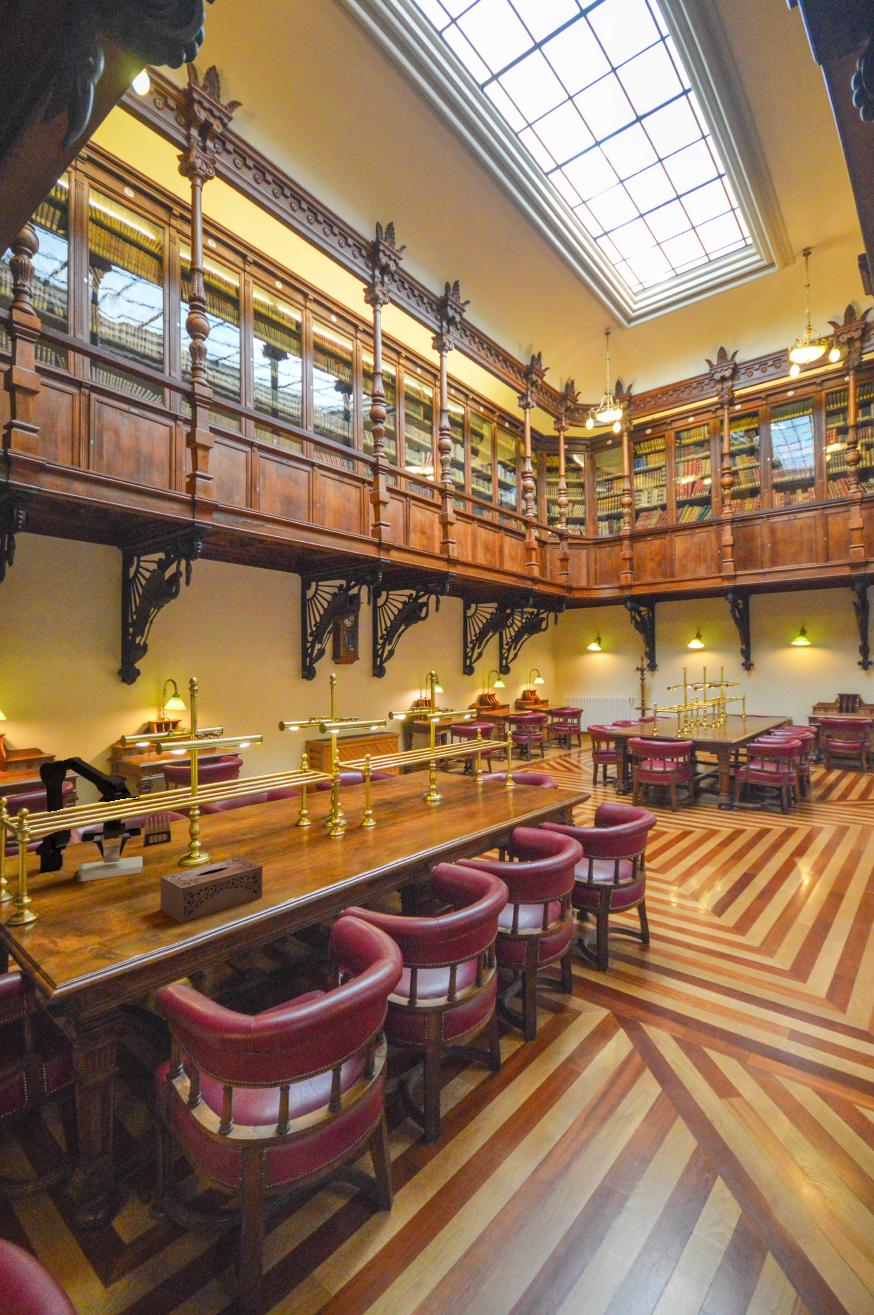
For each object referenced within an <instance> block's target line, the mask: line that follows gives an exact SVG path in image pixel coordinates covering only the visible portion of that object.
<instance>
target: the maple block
mask: <svg viewBox="0 0 874 1315" xmlns="http://www.w3.org/2000/svg"><path fill="white" fill-rule="evenodd" d="M120 846H121V843H117V844H109V845H103V847H104V858H103V860H102V861H103V863H111V862H118V861H119V860H120V859H121V858H120V857H121V856H120Z"/></svg>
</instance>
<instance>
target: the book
mask: <svg viewBox="0 0 874 1315" xmlns="http://www.w3.org/2000/svg"><path fill="white" fill-rule="evenodd" d="M103 861H104V860H102V861H94V862H88V863H80V865H79V868H78V872H77V874H76V876H77V880H76V881H77V883H81V882H82V883H83V882H87V881H95V880H101V879H109V878H115V877H123V876H130V875H135V874H143V873H144V869H143V868H144V866H143V865H144V863H143V861H144V860H143V855H141V856H139V855H138V856H132V857H125V858H120V860H119V861H118V862H111V863H103Z"/></svg>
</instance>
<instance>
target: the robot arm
mask: <svg viewBox="0 0 874 1315" xmlns="http://www.w3.org/2000/svg"><path fill="white" fill-rule="evenodd" d="M70 770H71V771H72V772H74V773H75V774H77V775H79V776H80V777H82V778H84V779H85V780H87V781H88V782H89V783H90V782H91V784H93V785H94V786H95V787H96V790H97V791H98V792H99V793H100V794H101V795H102V796H101V798H99V799H98V800H97V801H98V802H97V803H104V802H110V801H115V800H120V799H126V798H136V797H140V798H138V799H141V796H140V794H139V795H132V793H131V792H130V790H129V789H128V787H127V786H126V783H125V781H124V780H123V779H122V778H120V777H117V776H115V775H110V774H106V773H105V772H103V771H101V770H99V769H97V768H96V767H94V766H93V765H91V764H89V763H88V762H86V761H85V760H83V758H81V757H79V756H74V757H68V758H67V759H63V760H61V759H59V760H54V761H49V762H48V761H46V762H43V763H42V764H41V765H40V767H39V775H40V780H41V782H42V783H43V784H44V786H45V792H46V793H45V794H46V813H47V812H51V811H57V810H60V809H63V810H64V802H63V800H64V799H63V798H64V797H63V783H64V782H65V779H66V777H67V772H68V771H70ZM138 799H133V800H138ZM71 830H72V828H71V829H69V830H62V831H58V832H55V833H53V834H50V835H48V836H46V837H42V842H41V843H40V844H38V846H37V847H36V848H35V850H34V851H35V855H36V856H40V860H39V861H40V862H39V865H40V866H39V870H38V873H45V872H54V871H61V869H62V867H63V866H64V853H63V852H62V851H64V850H66V849H67V846H68V844H69V842H71V838H72V834H71ZM141 835H142V826H141V825H140V824H137V825H136V824H135V825H129V827H128V828H126V822H122V818H121V819H119V820H113V821H108V822H104V821H103V825H102V831H96V829H91V830H83V832H82V833H81V842H82V843H88V842H92V844H96V846H97V847H98V850H99V852H100V854H101V857H102V859H104V841H105V840H111V839H116V840H117V839H118V838H120V836H121V841H120V857H121V856H122V854H123V851H124V848H125V846H126V843H127V841H128V840H130V839H132V837H137V836H141Z"/></svg>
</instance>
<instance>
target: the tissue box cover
mask: <svg viewBox="0 0 874 1315" xmlns="http://www.w3.org/2000/svg"><path fill="white" fill-rule="evenodd" d="M262 898H263V866H262V865H260V864H257V863H255V862H252V861H249V860H247V859H245V858H242V857H240V856H239V857H237V858H231V859H228V860H223V861H220V862H216V863H212V864H207V865H204V866H200V867H195V868H192V869H188V870H184V871H180V872H176V873H173V874H168V875H164V876H161V877H160V905H159V906H160V908H159V909H160V911H161V912H164V913H165V914H166V915H168V916H169V917H171V918H173V919H175V921H178V922H179V923H180V924H183V923H186V922H189V921H192V920H195V919H198V918H202V917H204V916H207V915H210V914H213V913H217V912H220V911H224V910H226V909H230V908H232V907H236V906H239V905H242V904H245V903H249V902H252V901H255V900H258V899H262Z"/></svg>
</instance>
